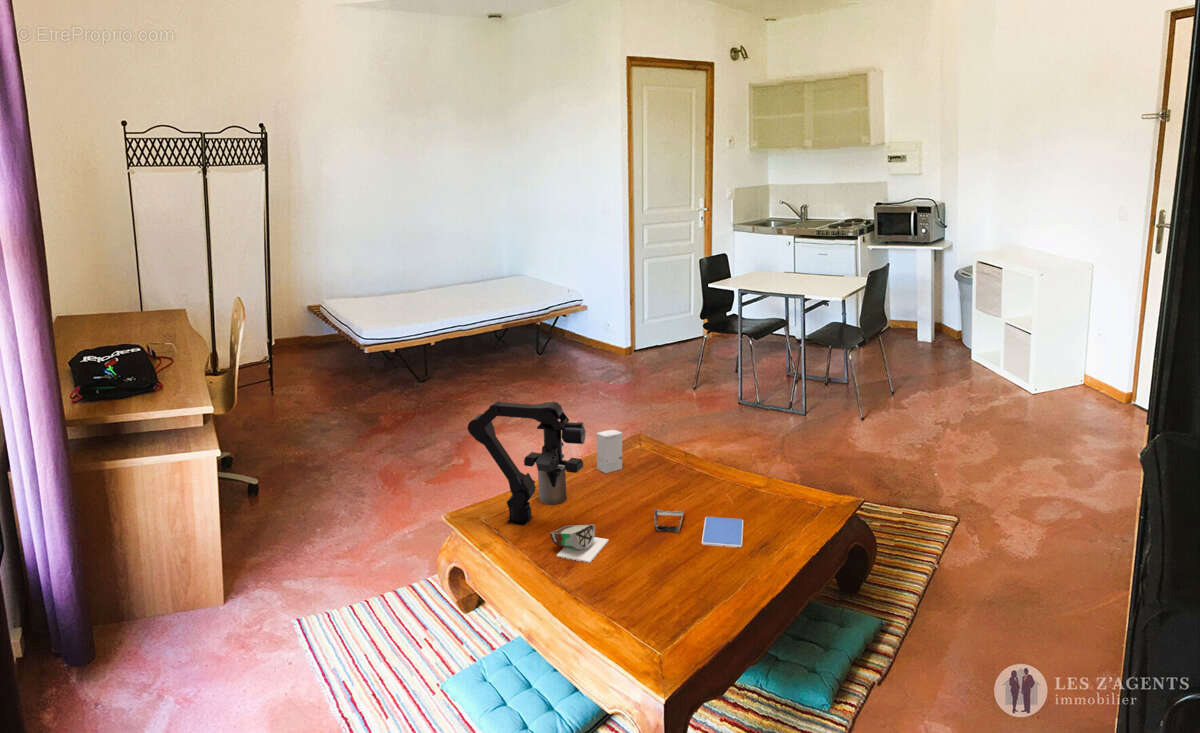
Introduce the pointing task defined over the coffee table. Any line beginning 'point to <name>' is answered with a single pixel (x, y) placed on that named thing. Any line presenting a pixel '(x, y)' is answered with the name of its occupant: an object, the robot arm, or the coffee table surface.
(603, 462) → the skincare box
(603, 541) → the white flat rectangular board
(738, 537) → the blue square panel
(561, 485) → the pillar candle
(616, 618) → the coffee table surface
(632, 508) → the coffee table surface
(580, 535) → the food container
